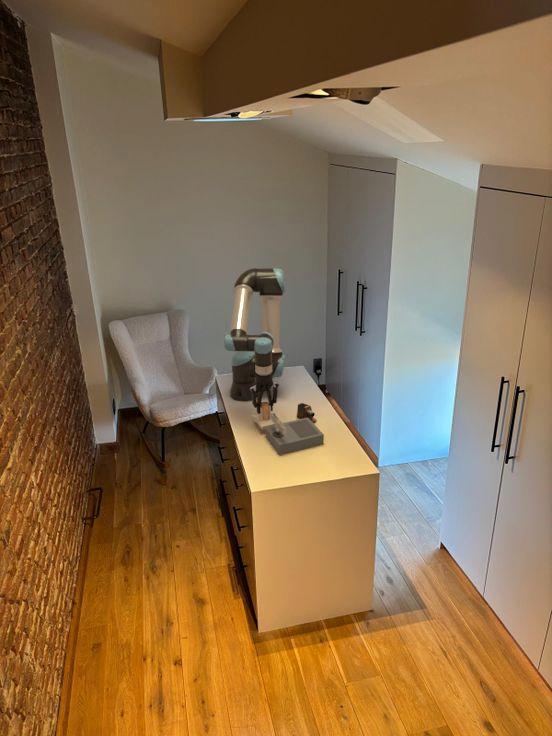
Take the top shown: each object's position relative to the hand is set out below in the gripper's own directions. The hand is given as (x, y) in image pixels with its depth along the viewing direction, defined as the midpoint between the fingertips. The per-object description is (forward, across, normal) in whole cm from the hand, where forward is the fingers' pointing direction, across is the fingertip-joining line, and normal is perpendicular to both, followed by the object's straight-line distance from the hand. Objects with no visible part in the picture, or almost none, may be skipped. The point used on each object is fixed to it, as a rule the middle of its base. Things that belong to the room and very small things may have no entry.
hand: (265, 418), depth 251 cm
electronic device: (+5, +20, -2) cm, 21 cm away
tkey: (0, 0, -16) cm, 16 cm away
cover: (+2, 0, 0) cm, 2 cm away
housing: (+5, +8, -16) cm, 18 cm away
